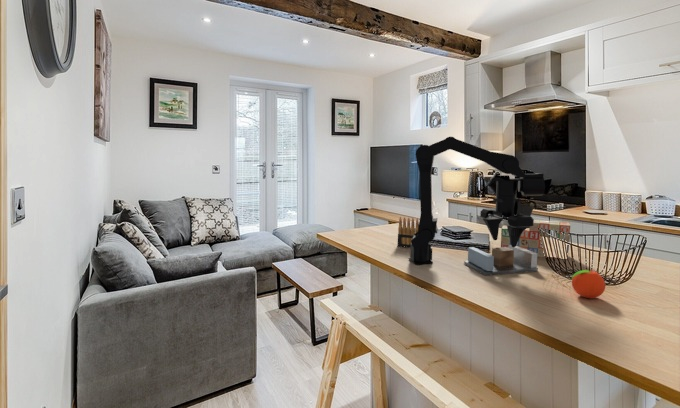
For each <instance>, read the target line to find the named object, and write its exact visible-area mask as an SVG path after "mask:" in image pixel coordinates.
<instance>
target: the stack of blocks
mask: <svg viewBox="0 0 680 408" xmlns="http://www.w3.org/2000/svg"><path fill="white" fill-rule="evenodd" d="M507 226H508V225H502V227H501V230H500V232H501V235H500V236H501V238H500V247H507V248H509V245H511V242H510V238H509V233H508V228H507ZM538 228H545V229H548V230H553V229H554V230H557V231H562V232H566V233H570V235H568V234H565V235H564V236H565V240H566V241H567V242H569V243H570V242H571V241H570V238H571V223H570V222H567V221H558V220H543V219H542V220H541V219H534V226H530V228H527V229H525V230H524V231H523V232H522V234H521V236H520V238H519V240H518V243H517V245H516V246H518V247H521V248H524V249H527V250H529V251H532V252H535V253H538V254H537V258H538V257H540V258H541V257H542V258H546V257H545V256H544V253H543V248H542V244H541V240H540V234H539V230H538ZM557 236H558V238H559V239H561V240H562V239H563V234H562V233H561V232H558V233H557ZM569 247H570V244H569V245H567V253H568V254H569Z"/></svg>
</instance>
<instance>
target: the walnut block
mask: <svg viewBox="0 0 680 408" xmlns="http://www.w3.org/2000/svg"><path fill="white" fill-rule="evenodd" d="M491 255H492V256H494V264H495V265H497V266H511V265H513V261H514V250H512V249H510V248H507V247H501V246H499V247H492V249H491Z"/></svg>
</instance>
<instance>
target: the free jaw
mask: <svg viewBox="0 0 680 408" xmlns="http://www.w3.org/2000/svg"><path fill="white" fill-rule="evenodd" d="M467 261H469V262H471V263H473V264H475V265H477V266H479V267H481V268H482V269H484V270H486V271H493V265H494V256H492V254H489V253H487V252H485V251H483V250H481V249H479V248H476V247H473V246H469V247H467Z"/></svg>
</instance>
